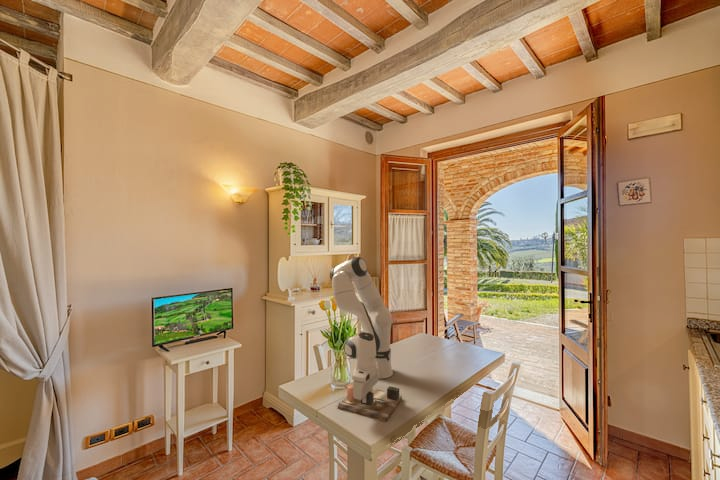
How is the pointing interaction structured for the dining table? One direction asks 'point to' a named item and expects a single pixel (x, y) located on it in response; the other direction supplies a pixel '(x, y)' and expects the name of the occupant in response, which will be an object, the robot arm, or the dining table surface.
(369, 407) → the strip
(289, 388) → the dining table surface
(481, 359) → the dining table surface
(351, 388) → the orange rounded piece
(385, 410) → the lane board
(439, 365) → the dining table surface
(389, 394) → the strip
